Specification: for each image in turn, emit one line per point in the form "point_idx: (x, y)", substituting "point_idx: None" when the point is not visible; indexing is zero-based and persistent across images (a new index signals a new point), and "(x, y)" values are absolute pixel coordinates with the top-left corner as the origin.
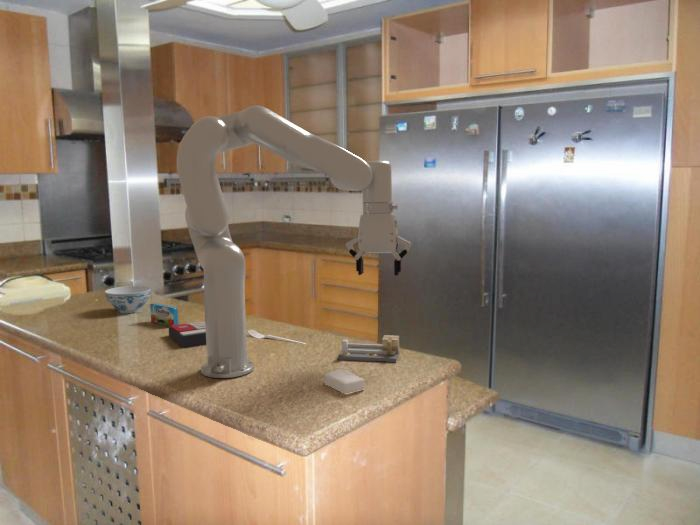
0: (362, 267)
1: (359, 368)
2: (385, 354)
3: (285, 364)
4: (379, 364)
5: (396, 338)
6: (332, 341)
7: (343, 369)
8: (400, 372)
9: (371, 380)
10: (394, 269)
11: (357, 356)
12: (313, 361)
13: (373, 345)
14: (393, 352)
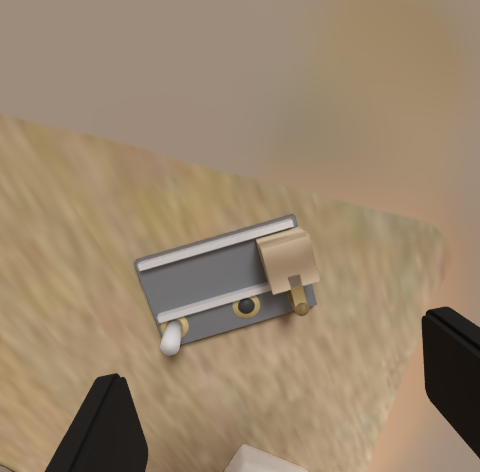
0: (117, 450)
1: (246, 373)
2: None
3: (69, 423)
4: (279, 329)
5: (311, 267)
6: (55, 197)
7: (250, 469)
8: (344, 357)
9: (301, 424)
10: (461, 434)
11: (216, 331)
12: None
13: (223, 246)
14: None
